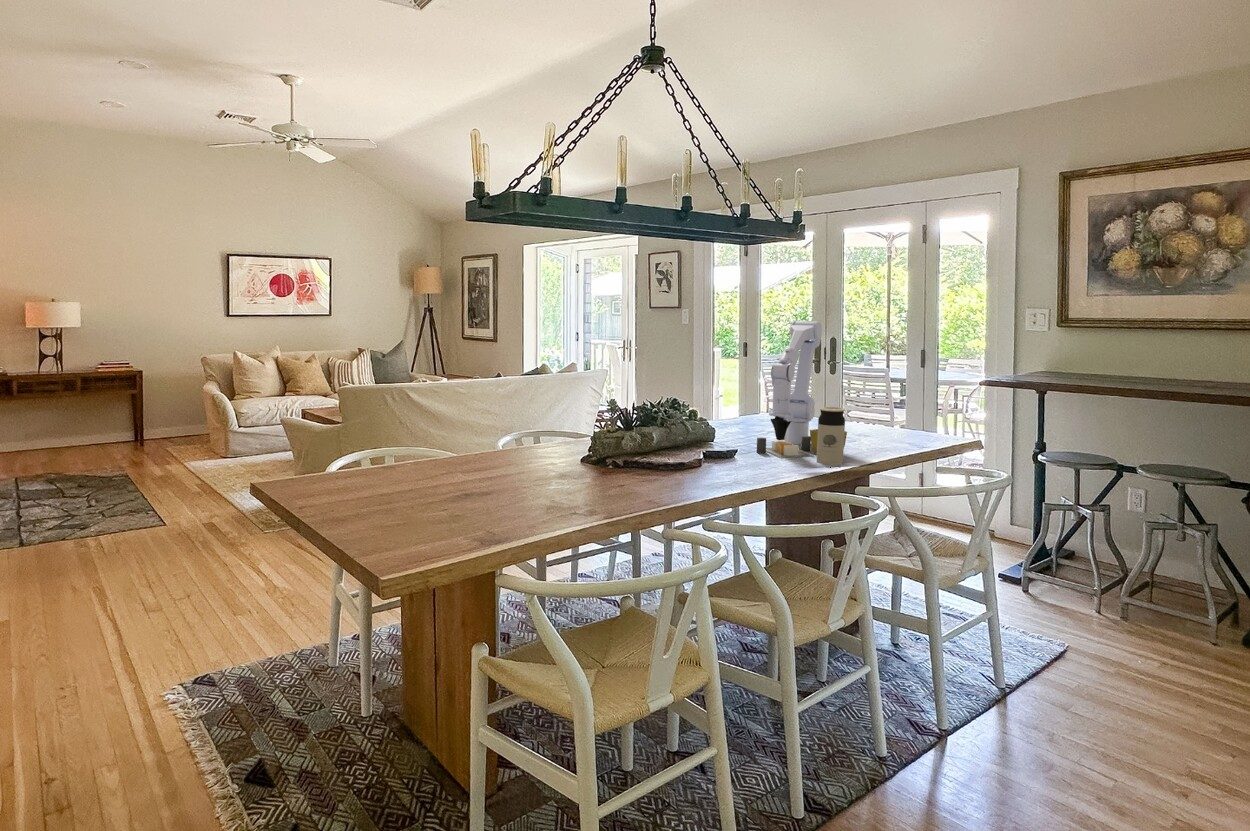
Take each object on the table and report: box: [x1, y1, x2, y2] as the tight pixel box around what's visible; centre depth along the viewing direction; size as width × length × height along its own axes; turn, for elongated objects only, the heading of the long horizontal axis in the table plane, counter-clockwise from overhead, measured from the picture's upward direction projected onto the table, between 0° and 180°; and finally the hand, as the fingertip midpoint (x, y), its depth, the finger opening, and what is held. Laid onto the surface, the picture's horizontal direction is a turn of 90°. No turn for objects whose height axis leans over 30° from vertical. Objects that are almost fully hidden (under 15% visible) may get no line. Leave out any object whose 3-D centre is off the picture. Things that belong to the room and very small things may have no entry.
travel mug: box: [816, 406, 846, 469], centre depth 245 cm, size 8×8×18 cm
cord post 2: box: [800, 435, 812, 453], centre depth 265 cm, size 3×3×6 cm
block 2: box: [778, 442, 793, 453], centre depth 262 cm, size 2×4×3 cm, turn 104°
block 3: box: [784, 444, 800, 456], centre depth 257 cm, size 2×4×3 cm, turn 104°
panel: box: [766, 447, 815, 459], centre depth 262 cm, size 18×12×2 cm, turn 14°
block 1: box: [771, 439, 787, 451], centre depth 266 cm, size 2×4×3 cm, turn 104°
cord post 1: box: [756, 437, 767, 455], centre depth 261 cm, size 3×3×6 cm
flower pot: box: [809, 428, 848, 455], centre depth 259 cm, size 9×9×9 cm
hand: (780, 439), depth 265 cm, fingers closed
